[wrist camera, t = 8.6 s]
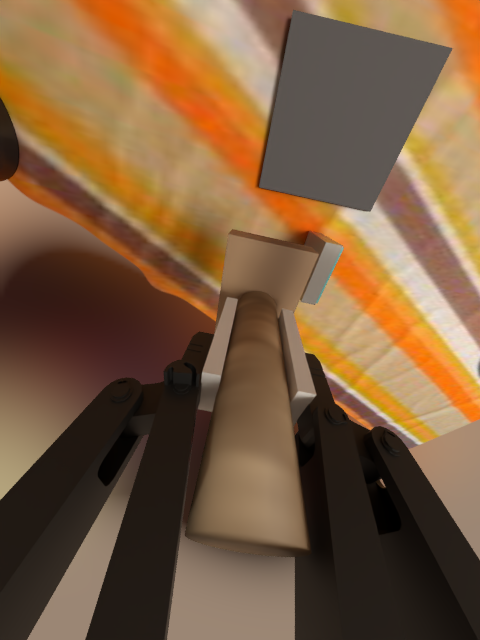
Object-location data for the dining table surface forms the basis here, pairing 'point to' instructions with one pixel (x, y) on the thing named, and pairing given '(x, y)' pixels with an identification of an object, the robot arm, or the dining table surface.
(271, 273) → the tamper
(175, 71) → the dining table surface
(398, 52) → the mat
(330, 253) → the tile
